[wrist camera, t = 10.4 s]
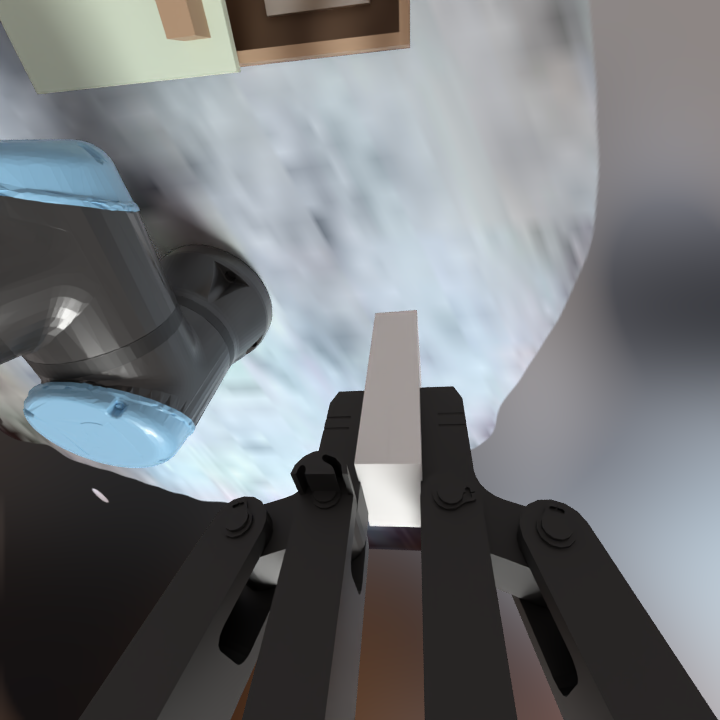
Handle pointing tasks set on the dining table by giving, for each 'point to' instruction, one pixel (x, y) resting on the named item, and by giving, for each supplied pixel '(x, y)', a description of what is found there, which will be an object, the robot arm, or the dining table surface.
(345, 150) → the dining table surface
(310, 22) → the box
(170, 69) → the lid
